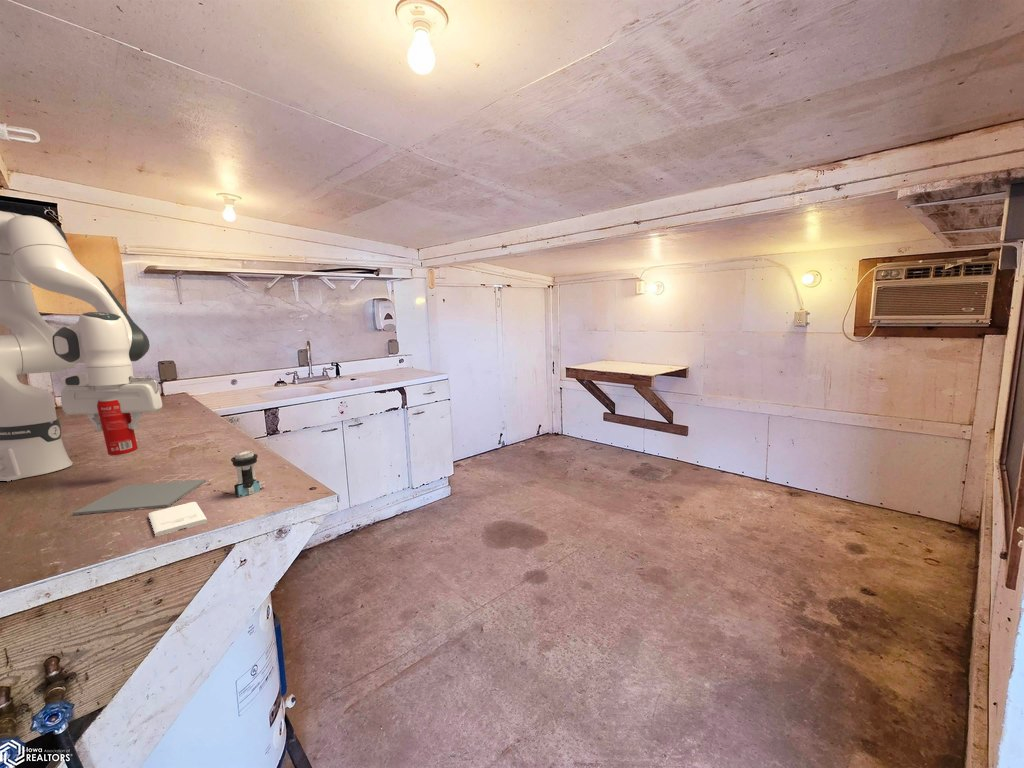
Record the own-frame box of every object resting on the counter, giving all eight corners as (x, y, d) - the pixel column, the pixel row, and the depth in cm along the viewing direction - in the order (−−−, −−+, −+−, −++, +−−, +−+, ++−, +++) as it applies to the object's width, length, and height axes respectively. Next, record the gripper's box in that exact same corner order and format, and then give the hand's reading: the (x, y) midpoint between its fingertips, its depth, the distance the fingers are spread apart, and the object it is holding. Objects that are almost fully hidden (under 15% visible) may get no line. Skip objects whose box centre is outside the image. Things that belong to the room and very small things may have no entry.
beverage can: (143, 450, 111) (136, 395, 109) (118, 458, 105) (110, 400, 102) (124, 449, 112) (116, 395, 109) (97, 457, 105) (89, 399, 103)
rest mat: (73, 515, 89) (72, 512, 89) (126, 487, 104) (126, 485, 104) (168, 507, 92) (167, 504, 92) (205, 481, 108) (205, 479, 108)
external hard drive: (196, 507, 93) (207, 525, 84) (148, 520, 87) (155, 540, 79) (196, 501, 93) (207, 517, 84) (147, 512, 87) (154, 532, 78)
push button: (259, 485, 104) (255, 447, 103) (271, 489, 101) (267, 450, 100) (230, 495, 99) (226, 454, 97) (242, 499, 96) (237, 457, 94)
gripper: (164, 374, 110) (170, 425, 112) (73, 376, 106) (81, 428, 108) (148, 378, 104) (155, 431, 106) (52, 379, 100) (60, 434, 102)
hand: (117, 429), depth 107 cm, fingers closed on beverage can, 6 cm apart
